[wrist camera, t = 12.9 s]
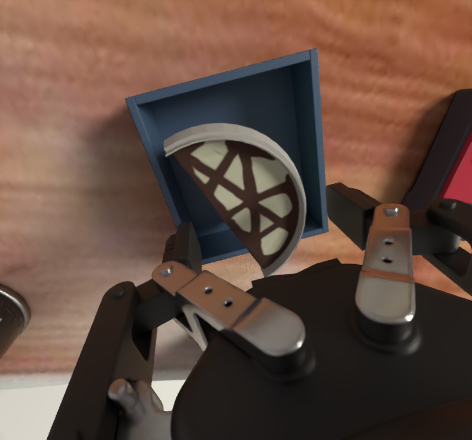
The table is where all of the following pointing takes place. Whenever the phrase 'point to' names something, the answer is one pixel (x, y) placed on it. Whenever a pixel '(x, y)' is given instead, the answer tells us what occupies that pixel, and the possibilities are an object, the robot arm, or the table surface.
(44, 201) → the table surface
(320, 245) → the table surface
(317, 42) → the table surface
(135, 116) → the tote
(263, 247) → the food container
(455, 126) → the calculator
